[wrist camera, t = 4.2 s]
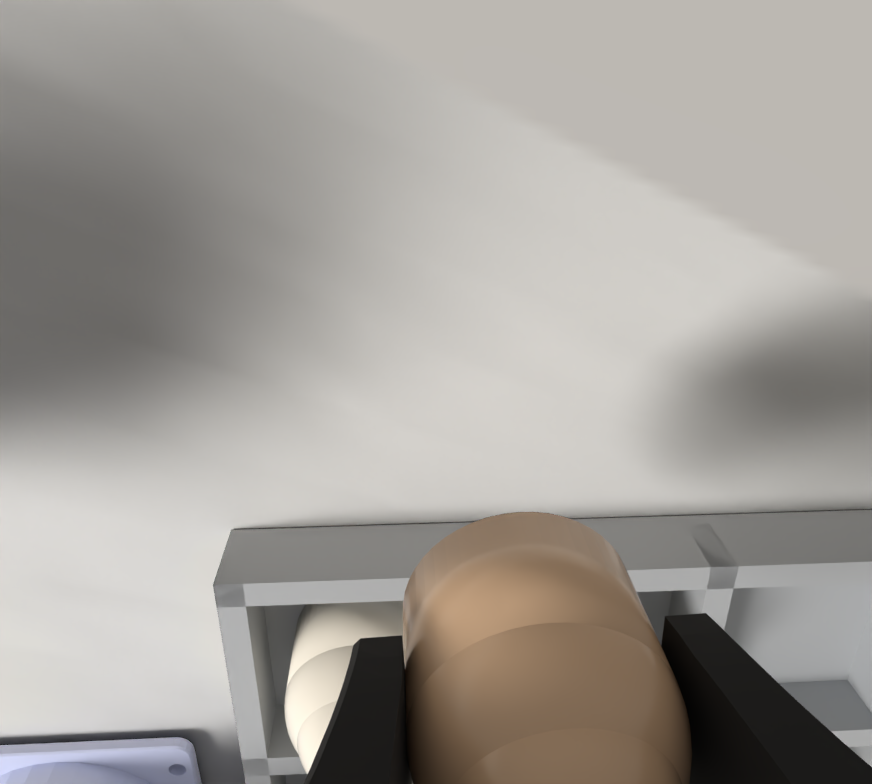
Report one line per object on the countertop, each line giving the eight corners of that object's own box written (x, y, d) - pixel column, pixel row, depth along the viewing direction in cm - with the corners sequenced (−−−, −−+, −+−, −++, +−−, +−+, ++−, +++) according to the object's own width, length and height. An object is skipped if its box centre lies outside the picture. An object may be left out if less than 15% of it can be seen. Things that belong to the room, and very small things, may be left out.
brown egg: (621, 681, 13) (738, 999, 9) (408, 697, 13) (418, 1029, 8) (638, 504, 11) (793, 787, 7) (395, 520, 11) (398, 818, 7)
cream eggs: (786, 794, 25) (870, 952, 21) (315, 819, 24) (299, 989, 20) (860, 562, 21) (984, 699, 16) (290, 582, 20) (263, 732, 15)
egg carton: (813, 809, 26) (848, 873, 24) (275, 838, 25) (265, 907, 23) (916, 508, 20) (973, 558, 18) (231, 529, 19) (213, 584, 17)
